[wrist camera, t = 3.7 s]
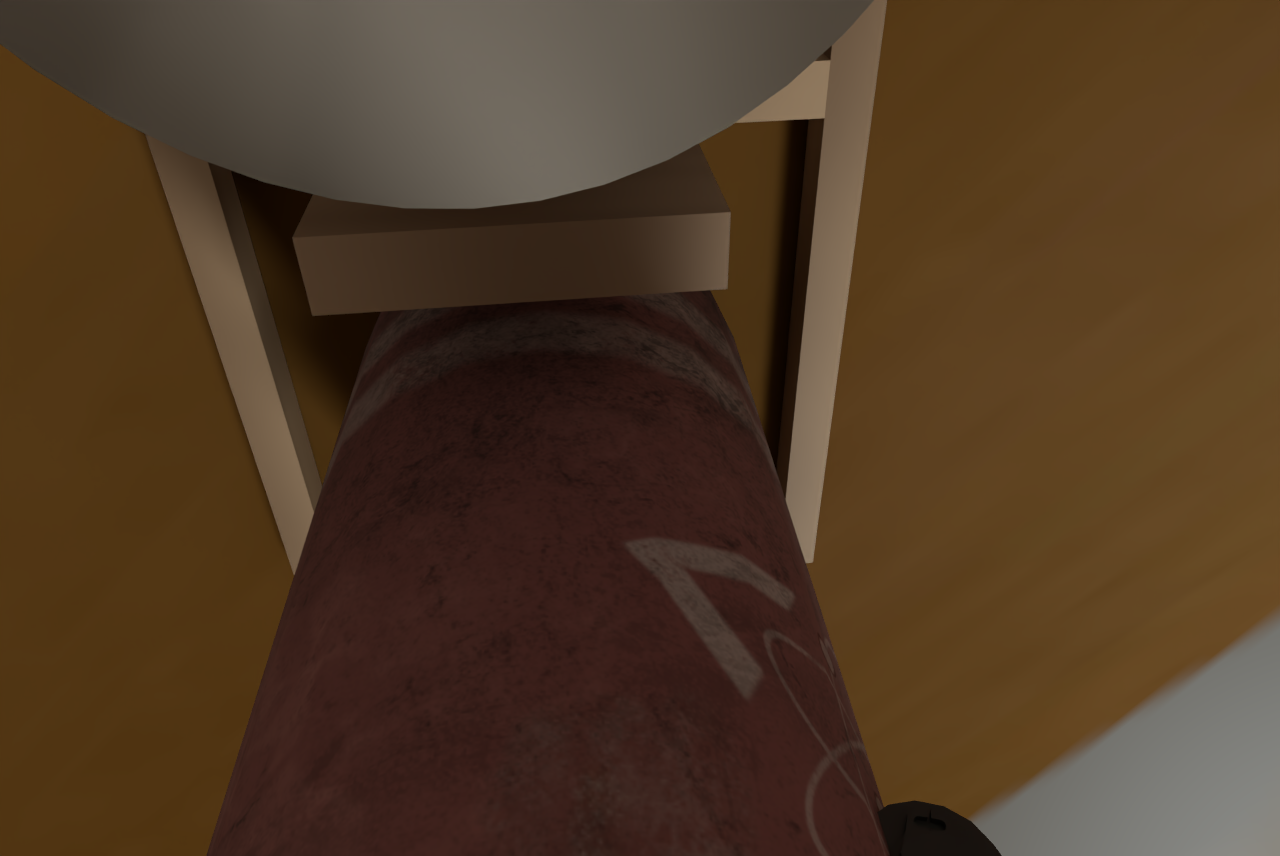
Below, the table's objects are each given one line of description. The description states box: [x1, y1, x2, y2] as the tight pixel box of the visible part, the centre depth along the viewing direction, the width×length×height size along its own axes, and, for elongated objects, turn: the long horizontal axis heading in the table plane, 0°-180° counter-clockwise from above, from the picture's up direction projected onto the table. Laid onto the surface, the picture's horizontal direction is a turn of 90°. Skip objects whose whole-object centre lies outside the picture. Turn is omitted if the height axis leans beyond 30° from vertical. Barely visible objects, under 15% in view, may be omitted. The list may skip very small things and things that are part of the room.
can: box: [207, 290, 891, 856], centre depth 10 cm, size 6×6×14 cm
